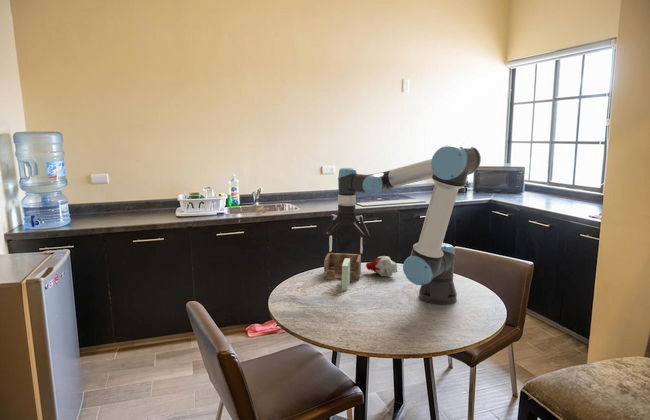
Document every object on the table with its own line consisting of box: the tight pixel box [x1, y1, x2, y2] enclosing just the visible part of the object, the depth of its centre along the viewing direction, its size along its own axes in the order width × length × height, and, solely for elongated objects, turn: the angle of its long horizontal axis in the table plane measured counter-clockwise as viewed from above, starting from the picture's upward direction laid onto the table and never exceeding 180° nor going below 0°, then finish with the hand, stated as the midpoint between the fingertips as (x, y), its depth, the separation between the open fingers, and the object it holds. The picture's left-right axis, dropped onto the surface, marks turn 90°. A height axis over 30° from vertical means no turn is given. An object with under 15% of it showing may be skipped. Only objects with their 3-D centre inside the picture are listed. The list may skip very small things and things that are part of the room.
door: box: [341, 258, 351, 291], centre depth 197 cm, size 11×2×11 cm, turn 171°
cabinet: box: [323, 252, 362, 282], centre depth 210 cm, size 16×13×9 cm
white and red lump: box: [365, 255, 398, 277], centre depth 213 cm, size 9×11×15 cm
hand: (345, 251), depth 196 cm, fingers open, 13 cm apart
